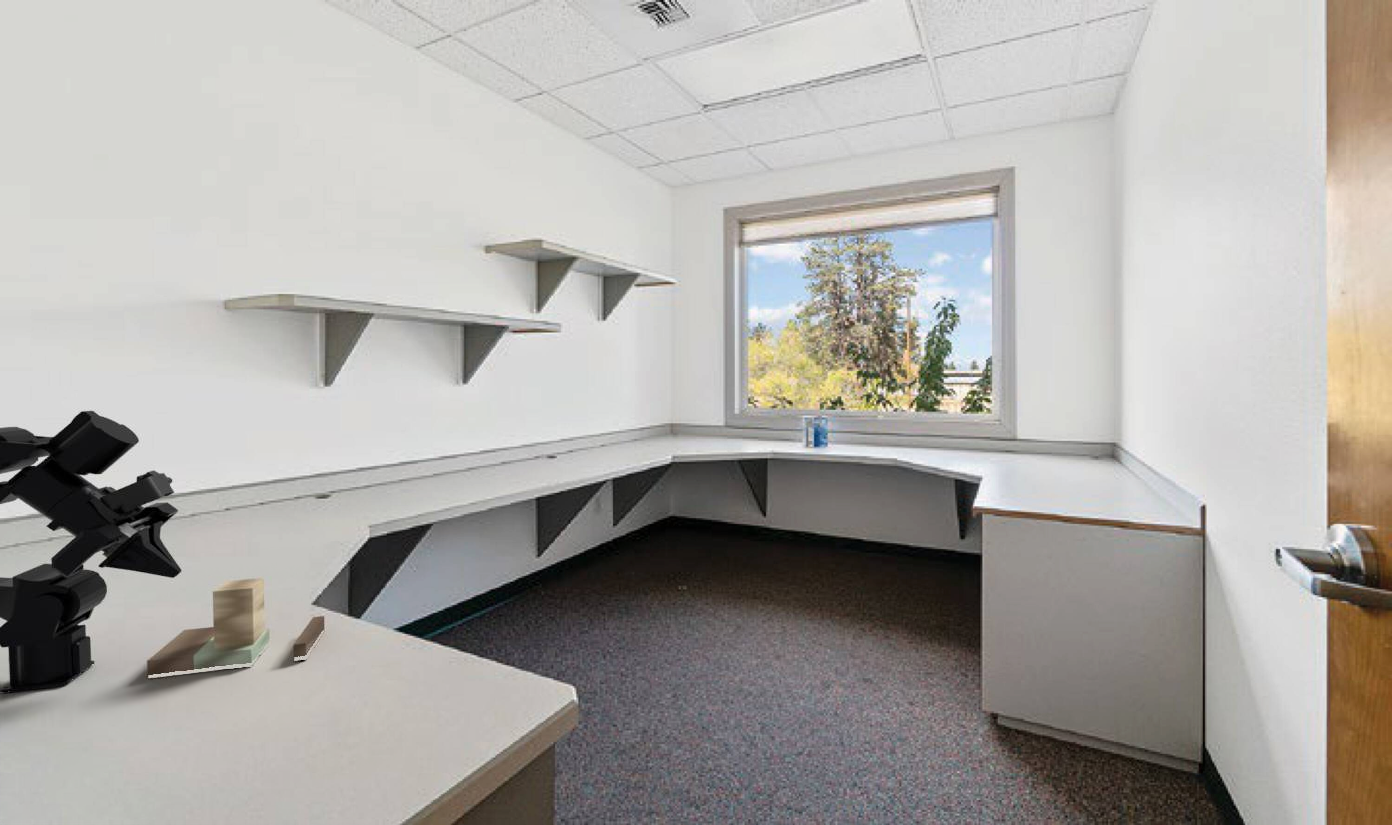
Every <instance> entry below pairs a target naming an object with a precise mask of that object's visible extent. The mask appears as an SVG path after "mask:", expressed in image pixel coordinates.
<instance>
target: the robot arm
mask: <svg viewBox="0 0 1392 825" xmlns="http://www.w3.org/2000/svg"><path fill="white" fill-rule="evenodd" d="M139 442H140V439H139V436H137V434H136V433H135V432H133V430H132V429H130V428H129V427H127V426H126V425H125V424H120V423H119V422H117V421H115V420H113V419H110V418H108V417H105V416H102V415H99V414H98V413H97V412H95V410H83V411H80V412H79V413H78V414H77V415H75V416H74V417H73V419H72V420H71V421H70V423H69V424H67V425H66V426H65V427H64V428H62V429H61V430H60V431H59V432H57V433H56V434H55V435H54V436H44V435H42V436H41V435H35V434H34V433H33V432H31V431H29V430H27V429H25V428H22V427H18V426H7V427H0V475H2V474H6V473H7V474H8V473H10V472H17V471H18V472H17V473H16V474H14V475H12V477H11V478H9V480H5V481H4V480H3V481H0V505H3V504H7V503H11V502H14V501H16V500H20V501H22V502H23V503H24V504H26V505H28V506H30V508H32V509H33V510H35V511H36V512H38V513H39V514H41V515H42V516H44V517H45V518H46V519H48V520H50V523H48V524H47V525H46V527H47V528H48V529H50V530H51V531H53V532H55V531H58V530H61V529H63V530H64V531H66V532H68V533H69V534H71V535H72V536H73V539H71V541H70V542H68V543H67V544H65V546H64V547H62V548H61V549H60V550H59V551H58V552H57V553H56V554H54V555H53V556H52V557H51V558H50V560H51V563H43V564H40V565H38V566H35V567H33V568H30V569H28V570H26V571H24V572H21V573H18V574H16V575H14V576H12V577H0V619H2V620H3V621H6V622H5V623H3V624H2V625H1V626H0V647H1V648H8V673H9V674H8V675H9V682H8V683H7V684H5V685H3V686H2V687H0V692H5V693H13V692H12V691H14V692H20V691H19V690H22V691H28V690H31V691H32V690H38V689H46V688H45V687H48V688H53V686H56V687H61V686H60V685H63V686H65V685H64V684H66V685H68V684H69V683H71V682H72V681H73V680H72V679H74V678H75V677H76V678H77V676H78V675H79V674H80V673H81V672H83V671H84V670H86V669H87V668H89V667H90V666H91V665H92V664H94V665H95V660H92V648H91V644H92V643H91V641H92V640H91V637H90V636H89V635H87V629H86V628H87V627H86V624H81V623H82V622H85V621H87V620H89V619H90V618H91V616H92V614H93V612H94V609H95V608H96V607H98V606H99V605H100V604H101V603H102V602H103V600H105V598H106V595H107V593H108V586H107V583H106V581H105V579H104V578H103V577H102V576H101V574H100V573H99V572H97V571H94V570H92V569H87V568H86V569H85V568H84V565H85V563H86V562H87V561H89V559H91V558H92V557H93V556H94V555H95V554H97V553H99V552H103V553H102V556H104V557H106V558H105V559H104V560H102V561H101V562H100V563H99V564H98V568H101V569H104V568H111V569H118V570H125V571H132V572H136V573H137V572H138V573H144V574H149V575H154V576H161V577H166V578H170V579H174V578H175V577H177V576H179V574H180V573H181V572H183V571H182V568H181V567H180V565H179V564H178V563H177V561H176V560H175V559H174V557H173V555H172V554H171V553H170V551H169V550H168V549H167V547H166V545H165V544H164V543H163V540H162V539H161V529H162V527H163V525H165V524H166V523H167V522H168V521H169V520H170V519H171V518H172V517H174V516H175V515H176V514H178V512H179V509H177V508H176V507H175V506H173V505H172V504H171V503H168V502H167V501H166V502H155V503H153V504H150V503H152V502H154V501H156V500H159V499H161V498H164V497H165V498H166V497H169V496H170V495H171V496H172V494H175V490H174V489H173V488H172V486H171V484H172V483H173V478H172V477H168V476H167V475H166V474H165V472H162V473H161V472H160V473H159V472H158V471H156V470H150V471H147V472H146V473H142V474H140V475H138V476H136V481H135V482H133V483H131V484H128V485H126V486H123V487H120V488H118V489H115V488H114V487H112V486H104V487H100V488H99V487H97V486H95V485H94V484H93V483H92V482H90V481H88V480H87V479H86V478H85V477H84V476H88V475H89V474H90V475H103V473H104V472H106V471H107V470H109V468H111V467H112V466H113V465H114V464H115V463H116V462H118V461H119V460H120V459H121V458H122V457H123V456H124V455H125V454H127V453H128V452H129V451H130V450H131V449H133V448H134V447H135V446H136V445H137V444H138V443H139ZM43 457H46V458H44V459H43V460H42V461H40V463H37V462H38V461H39V458H43ZM36 463H37V464H36ZM35 464H36V465H35ZM148 503H149V504H150V505H148V506H145V507H144V506H143V505H146V504H148ZM91 667H92V666H91ZM91 667H90V668H91ZM90 668H89V669H90ZM87 670H88V669H87ZM87 670H86V671H87ZM83 673H84V672H83ZM80 675H81V674H80ZM80 675H79V676H80ZM79 676H78V677H79ZM76 678H75V679H76ZM75 679H74V680H75ZM71 680H72V681H71ZM70 681H71V682H70ZM68 682H69V683H68ZM67 683H68V684H67ZM8 691H9V692H8Z"/></svg>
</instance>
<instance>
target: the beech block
mask: <svg viewBox="0 0 1392 825" xmlns="http://www.w3.org/2000/svg"><path fill="white" fill-rule="evenodd" d="M212 607H213V608H212V613H213V615H212V617H213V618H212V620H213V623H212V625H213V627H214V649H216V648H226V647H235V646H244V645H253V644H255V642H256V641H257V640H258V639H259V638H260V637H261V636H262V634H263V633H264V632H265V629H266V621H265V619H266V618H265V616H266V615H265V578H264V577H261V578H251V579H250V578H247V579H236V580H225V581H224V582H222V584H220V585H219V586H218V587H217V588H215V589H214V590H212Z"/></svg>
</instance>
